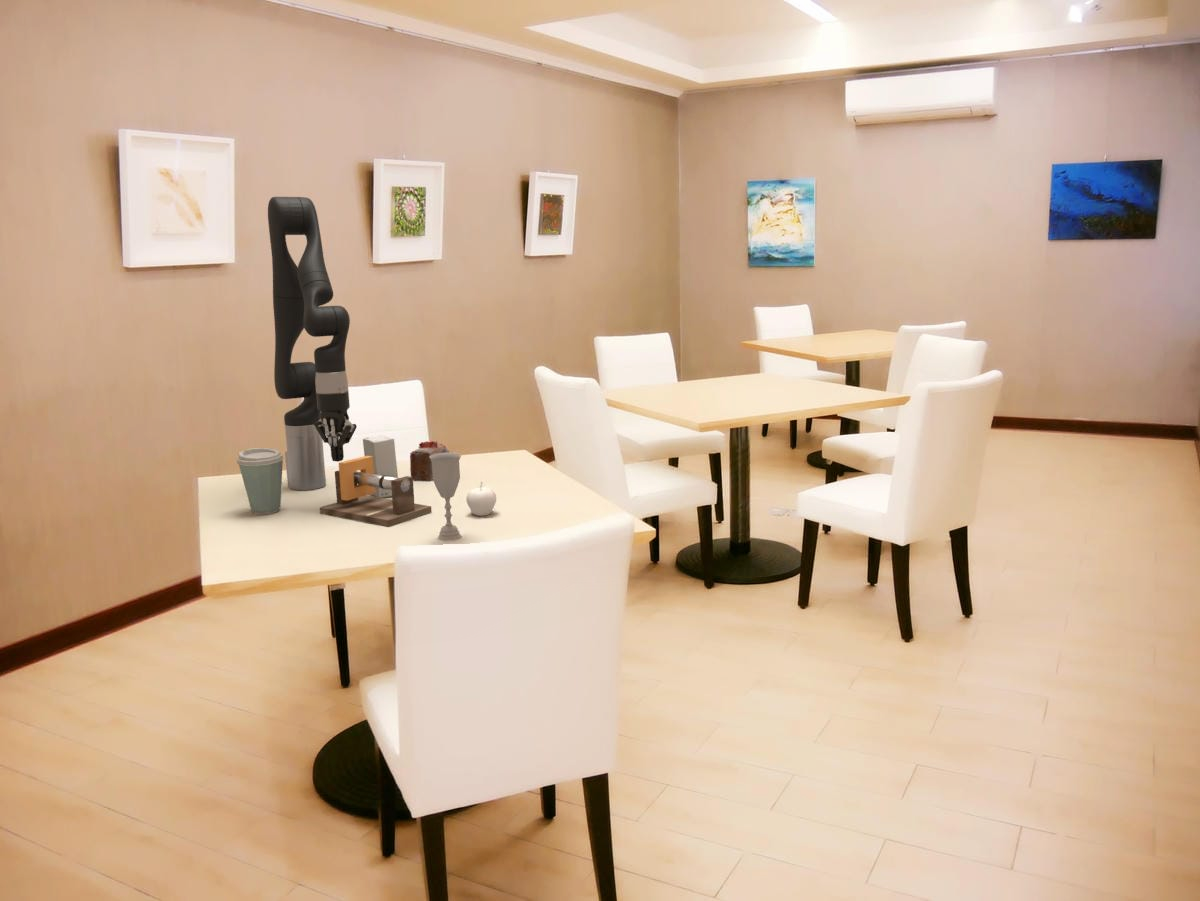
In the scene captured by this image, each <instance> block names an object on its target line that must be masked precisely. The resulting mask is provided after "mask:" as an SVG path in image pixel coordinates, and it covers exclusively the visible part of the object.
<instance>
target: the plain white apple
mask: <svg viewBox="0 0 1200 901" xmlns="http://www.w3.org/2000/svg"><path fill="white" fill-rule="evenodd" d="M483 483H484V482H483V481H481V482H480V483H479V484H480V485H479V487H476V488H472V489H470V490H469V491H468V492H467V495H466V498H465V499H466V500H465V501H466V503H467V505H468V508H469V510H470V512H471V513H472V514H473V515H474V516H479V517H485V516H488V515H490V514H491V513H492V512H493V510H494V507H495V505H496V502H497V494H496V492H495V490H493V488H491V487H485V486H483Z"/></svg>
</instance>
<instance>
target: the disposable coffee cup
mask: <svg viewBox="0 0 1200 901" xmlns="http://www.w3.org/2000/svg"><path fill="white" fill-rule="evenodd" d="M283 460H284V456H283V454H282V452H280V451H279V450H278V449H274V448H266V447H257V448H253V447H252V448H247V449H245V450H244V449H243V450H241V451H240V452H238V457H237V458H236V464H237V465H238V466H239V471H240V474H241V478H242V481H243V484H244V488H245V491H246V495H247V498H248V503H249V507H250V510H251V511H252V513H253V514H254V515H257V516H258V515H259V516H260V515H263V516H264V515H271V514H274V513H275V514H276V513H278V512H279V511H280V508H281V506H282V502H281V501H282V480H283Z"/></svg>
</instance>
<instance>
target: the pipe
mask: <svg viewBox="0 0 1200 901" xmlns="http://www.w3.org/2000/svg"><path fill="white" fill-rule="evenodd" d="M353 475H354V484H357V485H358V484H359V485H365V486H372V487H378V488H382V489H390V490H392V488H391V480H394V479H398V478H399V477H398V478H396V477H390V476H386V475H377V474H370V473H364V472H360V471H355V472H353ZM406 480H408V479H404V480H403V481H402V483H401V490H403V492H407V491H408V490H409V488H410V482H409V480H408V481H406ZM404 481H405V482H404ZM402 484H403V485H402ZM404 485H405V486H404ZM402 487H403V488H402ZM405 490H406V491H405Z"/></svg>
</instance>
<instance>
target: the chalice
mask: <svg viewBox="0 0 1200 901" xmlns="http://www.w3.org/2000/svg"><path fill="white" fill-rule="evenodd" d="M461 457H462V454H460V453H458V452H449V453H437V454H433V455H430V456H429V458H430V460H431V461H432V474H433V479H432V480H433V483H434V486H435V488H436V490H437V492H438V494H439V495H440V496H439V497H441V498H442V499H444V501H445V505H444V509H445V511H446V512H445V514H444V517H445V519H446V523H445V524H444V525H443V526H442V527H441V528H440V531H439V534H438V536H437V539H439V540H440V539H441V541H453V540H455V541H456V540H458V539H460V538H462V535H461V533H460V531H459V528H458V527H457V526H456V525H454V524H453V523H452V520H451V519H452V516H453V514H452V513H451V508H453V507H452V505H451V502H450V501H451V498H454V497H455V494H456V491H457V488H458V487H459V486H458V485H459V483H460V479H461V470H460V459H461ZM457 538H458V539H457Z"/></svg>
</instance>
